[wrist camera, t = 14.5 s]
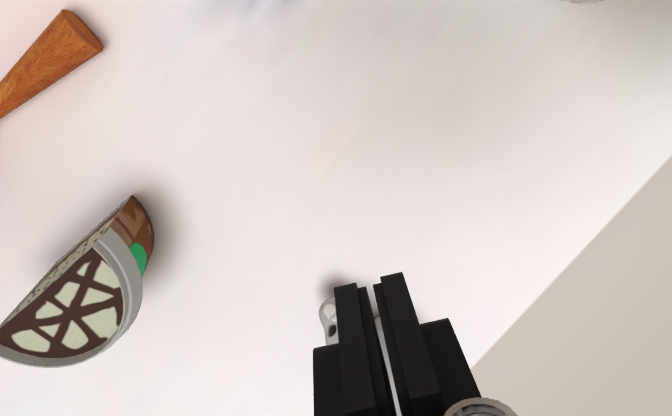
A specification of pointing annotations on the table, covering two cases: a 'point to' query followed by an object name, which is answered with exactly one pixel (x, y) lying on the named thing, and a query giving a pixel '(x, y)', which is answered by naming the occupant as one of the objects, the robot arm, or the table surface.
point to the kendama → (48, 60)
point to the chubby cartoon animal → (331, 336)
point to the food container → (83, 295)
